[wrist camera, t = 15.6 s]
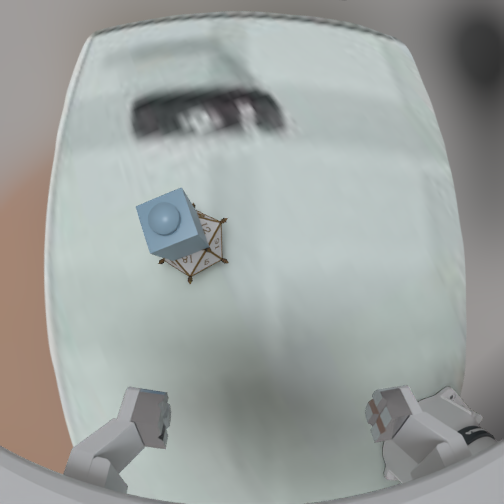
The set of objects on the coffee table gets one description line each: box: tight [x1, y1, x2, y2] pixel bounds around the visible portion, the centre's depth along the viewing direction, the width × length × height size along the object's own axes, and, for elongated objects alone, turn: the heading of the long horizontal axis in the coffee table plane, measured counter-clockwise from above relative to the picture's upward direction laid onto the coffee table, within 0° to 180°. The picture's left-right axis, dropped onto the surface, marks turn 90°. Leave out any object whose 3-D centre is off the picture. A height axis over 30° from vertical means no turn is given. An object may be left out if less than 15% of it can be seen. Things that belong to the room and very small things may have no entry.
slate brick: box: [136, 188, 209, 261], centre depth 26 cm, size 4×4×9 cm
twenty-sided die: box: [158, 203, 228, 284], centre depth 34 cm, size 9×8×10 cm
